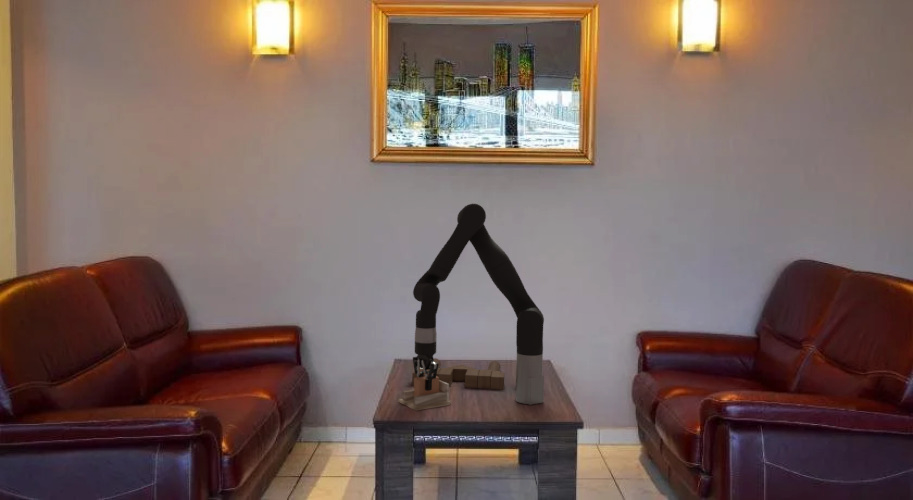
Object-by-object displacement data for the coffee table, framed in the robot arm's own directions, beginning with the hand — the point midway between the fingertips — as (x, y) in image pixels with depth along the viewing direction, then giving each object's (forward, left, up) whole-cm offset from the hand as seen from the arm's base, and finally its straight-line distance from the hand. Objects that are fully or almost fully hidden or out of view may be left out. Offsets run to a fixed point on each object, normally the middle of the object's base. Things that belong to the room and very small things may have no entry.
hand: (424, 388), depth 241 cm
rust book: (0, -1, -4) cm, 4 cm away
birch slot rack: (0, 0, -5) cm, 5 cm away
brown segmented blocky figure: (+24, -31, -6) cm, 40 cm away
